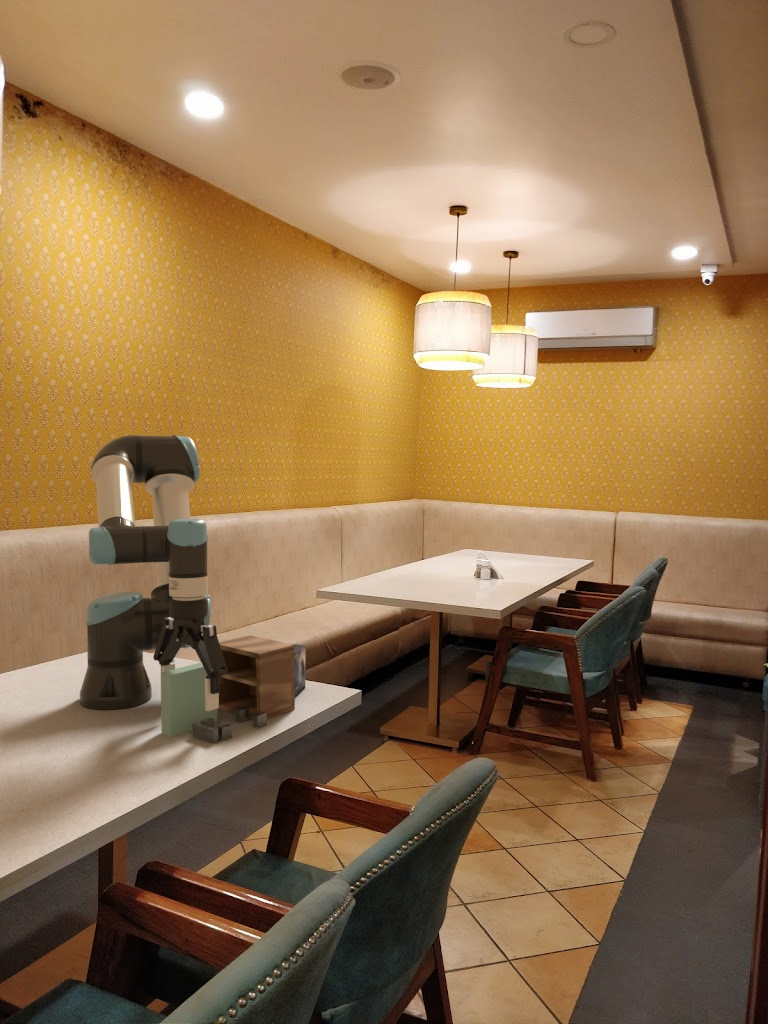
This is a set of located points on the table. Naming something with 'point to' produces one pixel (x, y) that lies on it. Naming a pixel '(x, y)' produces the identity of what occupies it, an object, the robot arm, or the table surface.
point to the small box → (299, 668)
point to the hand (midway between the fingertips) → (189, 702)
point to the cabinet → (258, 676)
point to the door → (183, 699)
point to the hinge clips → (225, 726)
